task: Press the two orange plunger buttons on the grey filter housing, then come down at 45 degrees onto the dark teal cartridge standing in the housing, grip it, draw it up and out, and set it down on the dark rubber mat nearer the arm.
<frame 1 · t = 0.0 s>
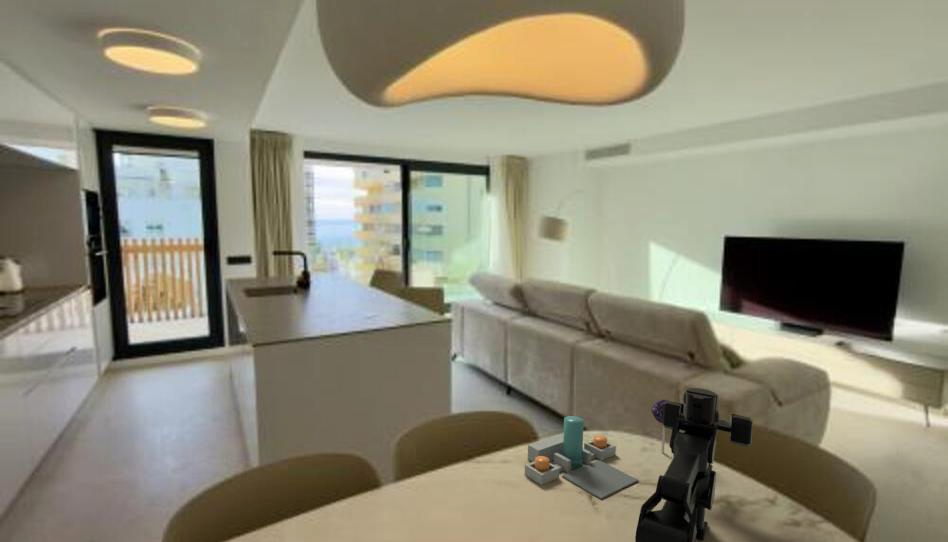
hand: (710, 412, 116), 17 cm above the table, tool horizontal, fingers open, 9 cm apart
housing: (572, 464, 122), on the table
cartridge: (572, 464, 122), on the table
lollipop: (662, 453, 130), on the table
mat: (599, 479, 115), on the table
right plunger: (600, 443, 128), point 3 cm above the table, slide at 0.0 cm
left plunger: (542, 465, 116), point 3 cm above the table, slide at 0.0 cm
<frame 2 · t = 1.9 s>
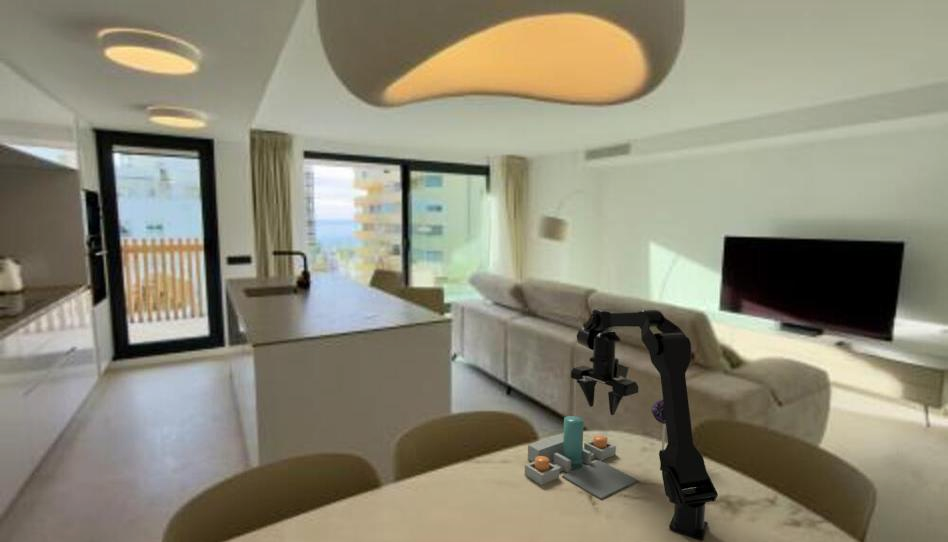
hand: (601, 410, 128), 12 cm above the table, tool pointing down, fingers open, 7 cm apart
nothing on the table moved.
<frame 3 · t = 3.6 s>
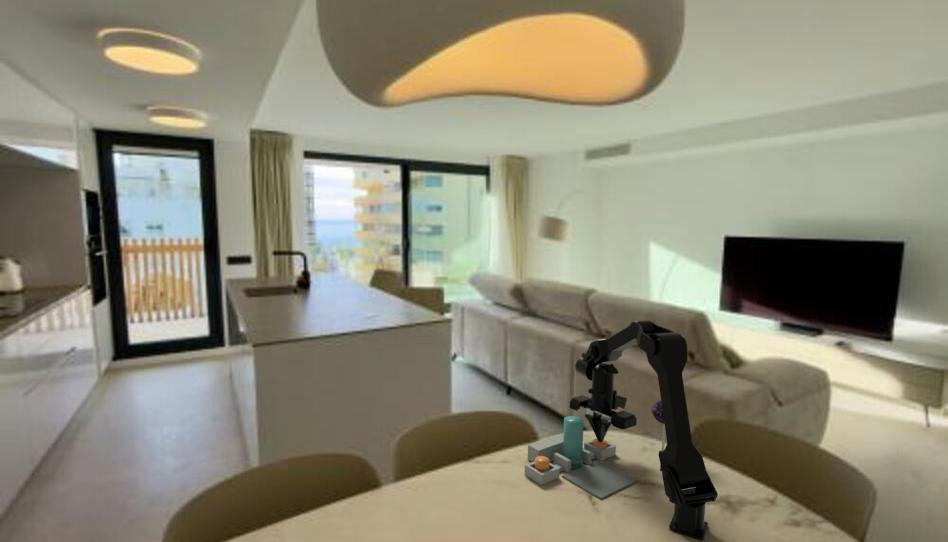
hand: (600, 441, 128), 3 cm above the table, tool pointing down, fingers closed, pressing on right plunger
right plunger: (600, 446, 129), point 2 cm above the table, slide at 0.9 cm, touching gripper
everything else where it was.
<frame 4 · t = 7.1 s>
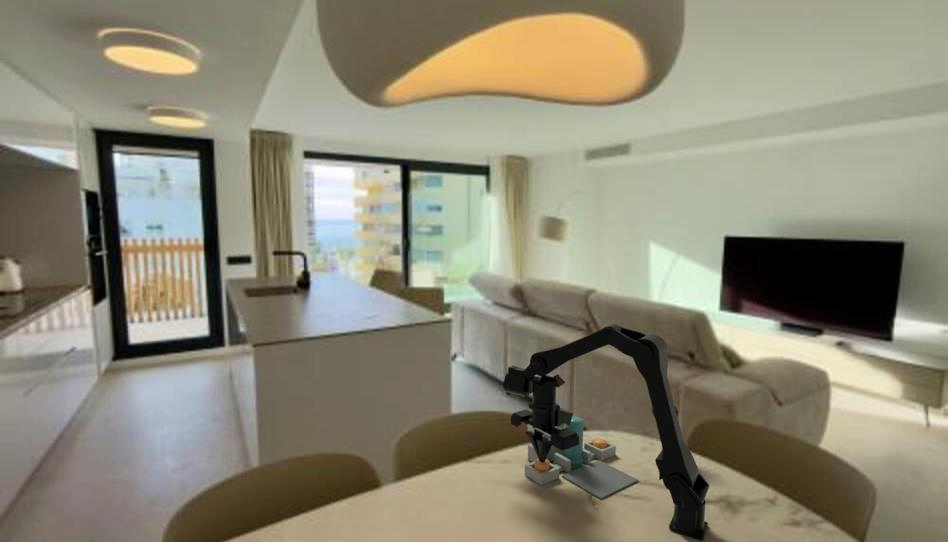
hand: (542, 461, 116), 4 cm above the table, tool pointing down, fingers closed, pressing on left plunger
right plunger: (600, 446, 129), point 2 cm above the table, slide at 1.0 cm
left plunger: (542, 467, 116), point 2 cm above the table, slide at 0.6 cm, touching gripper
everything else where it was.
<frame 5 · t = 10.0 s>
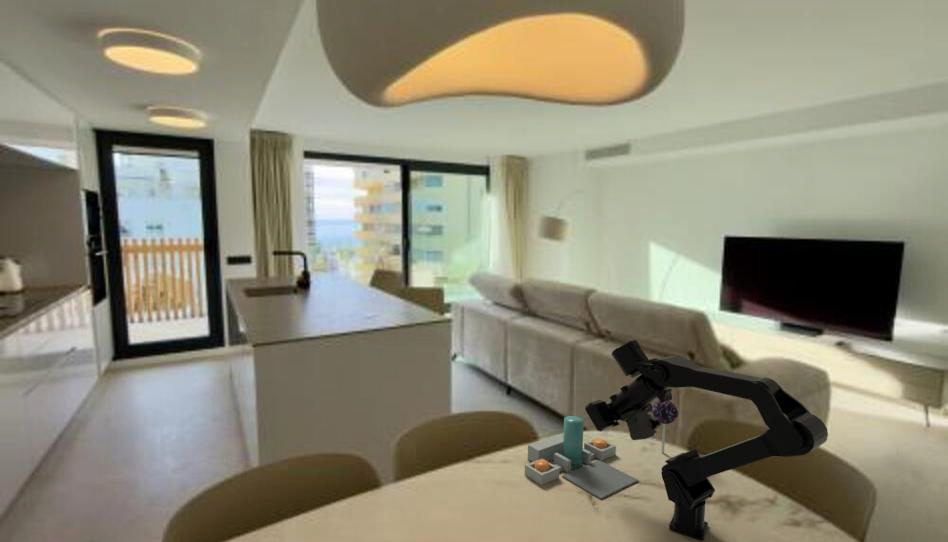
hand: (598, 424, 115), 13 cm above the table, tool tilted 45°, fingers closed
left plunger: (541, 468, 116), point 2 cm above the table, slide at 1.0 cm
everything else where it was.
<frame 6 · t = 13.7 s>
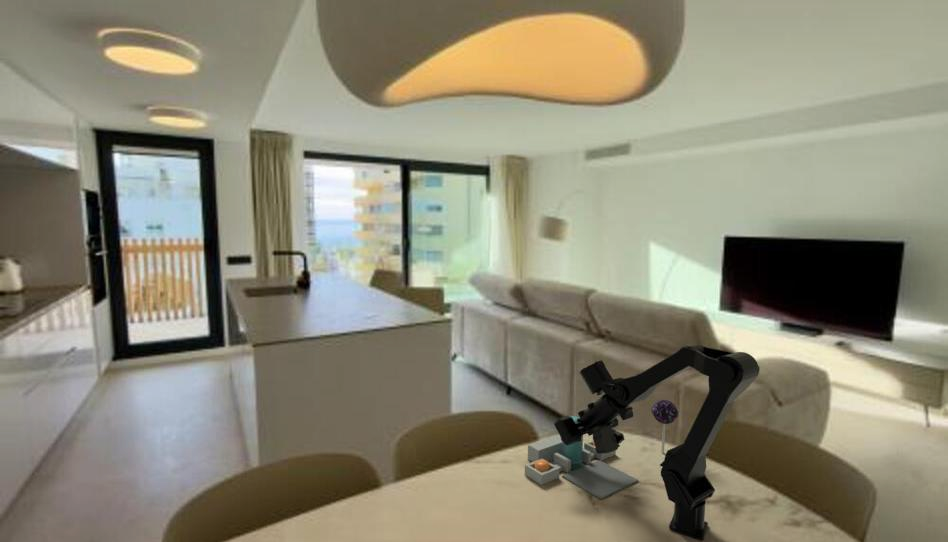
hand: (569, 437, 123), 7 cm above the table, tool tilted 45°, fingers closed on cartridge, 5 cm apart
cartridge: (572, 464, 122), on the table, touching gripper
everything else where it was.
when the fingers open (8 cm above the table, at t = 16.7 s): cartridge stays where it is, resting on mat.
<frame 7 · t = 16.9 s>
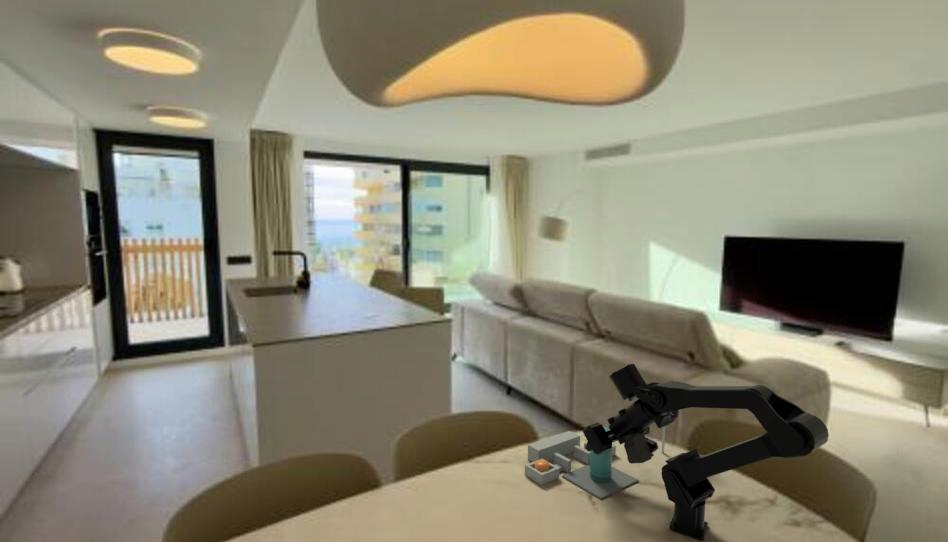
hand: (596, 445, 115), 8 cm above the table, tool tilted 45°, fingers open, 7 cm apart
cartridge: (600, 477, 115), resting on mat
everything else where it was.
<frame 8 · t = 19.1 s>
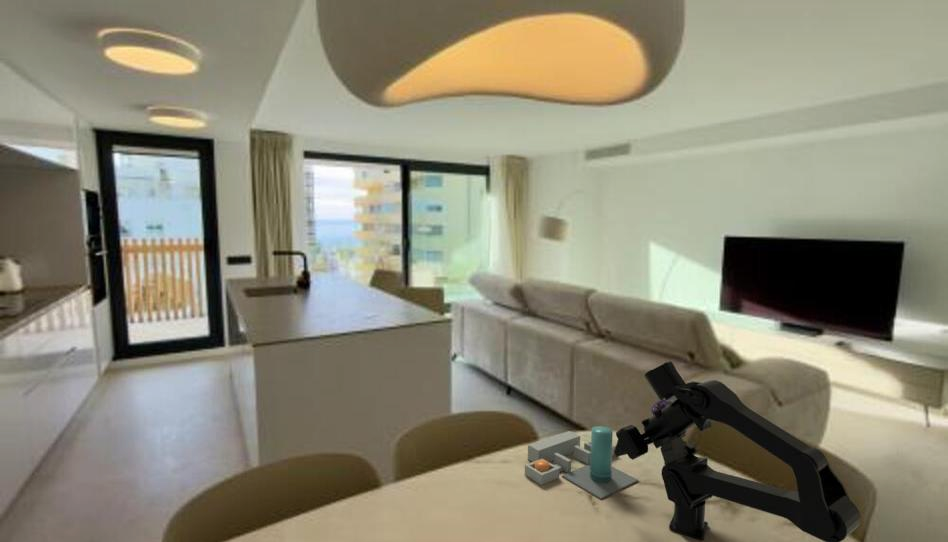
hand: (628, 449, 108), 11 cm above the table, tool tilted 45°, fingers open, 9 cm apart
nothing on the table moved.
at the end: cartridge inside the target area on the mat (0.1 cm from its centre), point 0.4 cm above the mat's base; cartridge tilted 0°; cartridge touching mat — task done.
